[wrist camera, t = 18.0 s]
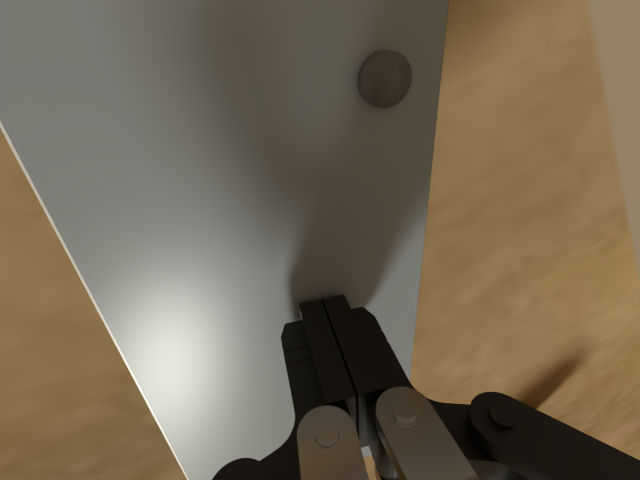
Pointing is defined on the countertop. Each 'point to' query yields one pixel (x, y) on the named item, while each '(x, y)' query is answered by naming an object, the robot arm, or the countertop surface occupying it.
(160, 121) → the cover
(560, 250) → the countertop surface
